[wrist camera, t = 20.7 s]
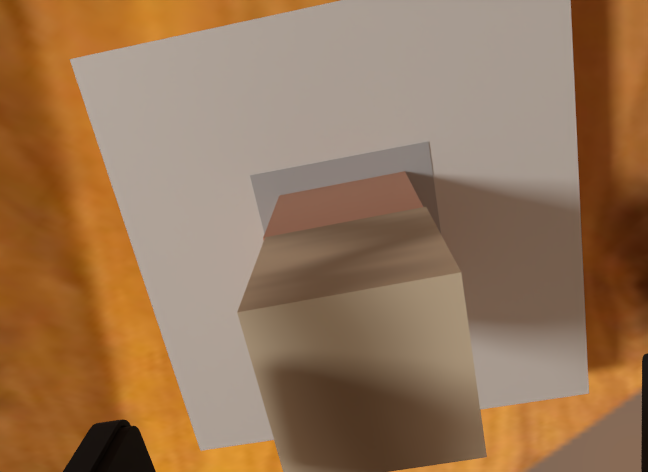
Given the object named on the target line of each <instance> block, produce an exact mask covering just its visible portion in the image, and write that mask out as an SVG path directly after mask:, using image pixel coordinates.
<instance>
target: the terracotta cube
mask: <svg viewBox="0 0 648 472" xmlns="http://www.w3.org/2000/svg"><path fill="white" fill-rule="evenodd" d="M421 207H423V205H422V203H421V201H420V200H419V198H418V196H417V194H416V192H415V190H414V188H413V186H412V184H411V182H410V180H409V178H408V176H407V174H406V172H405V171H403V172H398V173H393V174H388V175H383V176H377V177H372V178H367V179H362V180H357V181H351V182H346V183H341V184H336V185H331V186H326V187H320V188H315V189H310V190H305V191H300V192H295V193H289V194H284V195H279V198H278V200H277V203H276V205H275V208H274V211H273V213H272V216H271V218H270V221H269V224H268V226H267V229H266V232H265V234H264V237H263V240H264V239H265V237H269V236H275V235H280V234H285V233H290V232H295V231H301V230H306V229H311V228H316V227H322V226H327V225H332V224H337V223H343V222H348V221H353V220H358V219H363V218H369V217H374V216H379V215H384V214H390V213H395V212H400V211H405V210H411V209H416V208H421Z"/></svg>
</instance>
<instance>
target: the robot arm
mask: <svg viewBox="0 0 648 472" xmlns="http://www.w3.org/2000/svg"><path fill="white" fill-rule="evenodd" d="M63 472H156V471H155V469H154V466H153V464H152V461H151V459H150V456H149V454H148V451H147V448H146V446H145V443H144V441H143V438H142V436H141V433H140V431H139V429H138V428H137V427H136V426H131V425H130V423H129V422H128V421H127V420H116V421H109V422H102V423H96V424H94V425H93V426H92V427H91V428H90V430H89V431H88V433H87V434H86V436H85V437H84V439H83V441H82V442H81V444H80V445H79V447H78V449H77V450H76V452H75V453H74V455H73V456H72V458H71V460H70V461H69V463H68V464H67V466H66V468H65V469H64V471H63ZM642 472H648V354H645V355H644V356H643V360H642Z"/></svg>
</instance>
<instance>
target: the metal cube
mask: <svg viewBox="0 0 648 472" xmlns="http://www.w3.org/2000/svg"><path fill="white" fill-rule="evenodd" d="M237 314H238V317H239V321H240V324H241V328H242V331H243V334H244V338H245V341H246V345H247V348H248V352H249V355H250V358H251V362H252V365H253V369H254V372H255V376H256V379H257V382H258V386H259V389H260V393H261V396H262V400H263V403H264V407H265V410H266V413H267V417H268V420H269V424H270V427H271V431H272V434H273V437H274V441H275V444H276V448H277V451H278V455H279V458H280V461H281V465H282V468H283V472H389V471H396V470H403V469H409V468H416V467H423V466H430V465H437V464H443V463H450V462H457V461H464V460H470V459H477V458H484V457H487V455H486V448H485V441H484V433H483V426H482V419H481V412H480V405H479V397H478V390H477V383H476V376H475V368H474V361H473V354H472V347H471V339H470V332H469V325H468V318H467V310H466V303H465V296H464V289H463V281H462V274H461V271H460V269H459V267H458V265H457V263H456V262H455V260H454V258H453V256H452V254H451V252H450V250H449V248H448V247H447V245H446V243H445V241H444V239H443V237H442V235H441V233H440V232H439V230H438V228H437V226H436V224H435V222H434V220H433V218H432V217H431V215H430V213H429V211H428V209H427V207H421V208H416V209H411V210H405V211H400V212H395V213H390V214H384V215H379V216H374V217H369V218H363V219H358V220H353V221H348V222H343V223H337V224H332V225H327V226H322V227H316V228H311V229H306V230H301V231H295V232H290V233H285V234H280V235H275V236H269V237H265V239H264V242H263V244H262V247H261V250H260V253H259V255H258V258H257V261H256V263H255V266H254V269H253V271H252V274H251V277H250V279H249V282H248V285H247V287H246V290H245V293H244V295H243V298H242V301H241V303H240V306H239V309H238V311H237Z"/></svg>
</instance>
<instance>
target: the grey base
mask: <svg viewBox="0 0 648 472" xmlns="http://www.w3.org/2000/svg"><path fill="white" fill-rule="evenodd" d="M70 61H71V64H72V67H73V70H74V73H75V76H76V79H77V82H78V85H79V88H80V91H81V94H82V97H83V100H84V103H85V106H86V109H87V112H88V115H89V118H90V121H91V124H92V127H93V130H94V133H95V136H96V139H97V142H98V145H99V148H100V151H101V154H102V157H103V160H104V163H105V166H106V169H107V172H108V175H109V178H110V181H111V184H112V187H113V190H114V193H115V196H116V199H117V202H118V205H119V208H120V211H121V214H122V217H123V220H124V223H125V226H126V229H127V232H128V235H129V238H130V241H131V244H132V247H133V250H134V253H135V256H136V259H137V262H138V265H139V268H140V271H141V274H142V277H143V280H144V283H145V286H146V289H147V292H148V295H149V298H150V301H151V304H152V307H153V310H154V313H155V316H156V319H157V322H158V325H159V328H160V331H161V334H162V337H163V340H164V343H165V346H166V349H167V352H168V355H169V358H170V361H171V364H172V367H173V370H174V373H175V376H176V379H177V382H178V385H179V388H180V391H181V394H182V397H183V400H184V403H185V406H186V409H187V412H188V415H189V418H190V421H191V424H192V427H193V430H194V433H195V436H196V439H197V442H198V444H199V447H200V450H208V449H215V448H221V447H228V446H235V445H242V444H248V443H255V442H262V441H269V440H274V437H273V434H272V431H271V427H270V424H269V420H268V417H267V413H266V410H265V407H264V403H263V400H262V396H261V393H260V389H259V386H258V382H257V379H256V376H255V372H254V369H253V365H252V362H251V358H250V355H249V352H248V348H247V345H246V341H245V338H244V334H243V331H242V328H241V324H240V321H239V317H238V314H237V311H238V309H239V306H240V303H241V301H242V298H243V295H244V293H245V290H246V287H247V285H248V282H249V279H250V277H251V274H252V271H253V269H254V266H255V263H256V261H257V258H258V255H259V253H260V250H261V247H262V244H263V242H264V240H263V237H264V234H265V232H266V229H267V226H268V224H269V221H270V218H271V216H272V213H273V211H274V208H275V205H276V203H277V200H278V198H279V195H284V194H289V193H295V192H300V191H305V190H310V189H315V188H320V187H326V186H331V185H336V184H341V183H346V182H351V181H357V180H362V179H367V178H372V177H377V176H383V175H388V174H393V173H398V172H403V171H405V172H406V174H407V176H408V178H409V180H410V182H411V184H412V186H413V188H414V190H415V192H416V194H417V196H418V198H419V200H420V201H421V203H422V205H423V207H427V209H428V211H429V213H430V215H431V217H432V218H433V220H434V222H435V224H436V226H437V228H438V230H439V232H440V233H441V235H442V237H443V239H444V241H445V243H446V245H447V247H448V248H449V250H450V252H451V254H452V256H453V258H454V260H455V262H456V263H457V265H458V267H459V269H460V271H461V274H462V281H463V289H464V296H465V303H466V310H467V318H468V325H469V332H470V339H471V347H472V354H473V361H474V368H475V376H476V383H477V390H478V397H479V405H480V409H486V408H493V407H500V406H507V405H514V404H520V403H527V402H534V401H541V400H548V399H554V398H561V397H568V396H575V395H582V394H588V393H589V384H588V363H587V341H586V320H585V298H584V277H583V255H582V234H581V213H580V191H579V170H578V148H577V127H576V105H575V84H574V63H573V41H572V20H571V0H341V1H337V2H332V3H328V4H323V5H318V6H314V7H309V8H305V9H300V10H295V11H291V12H286V13H282V14H277V15H272V16H268V17H263V18H258V19H254V20H249V21H245V22H240V23H235V24H231V25H226V26H222V27H217V28H212V29H208V30H203V31H198V32H194V33H189V34H185V35H180V36H175V37H171V38H166V39H162V40H157V41H152V42H148V43H143V44H139V45H134V46H129V47H125V48H120V49H115V50H111V51H106V52H102V53H97V54H92V55H88V56H83V57H79V58H74V59H70Z"/></svg>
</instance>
